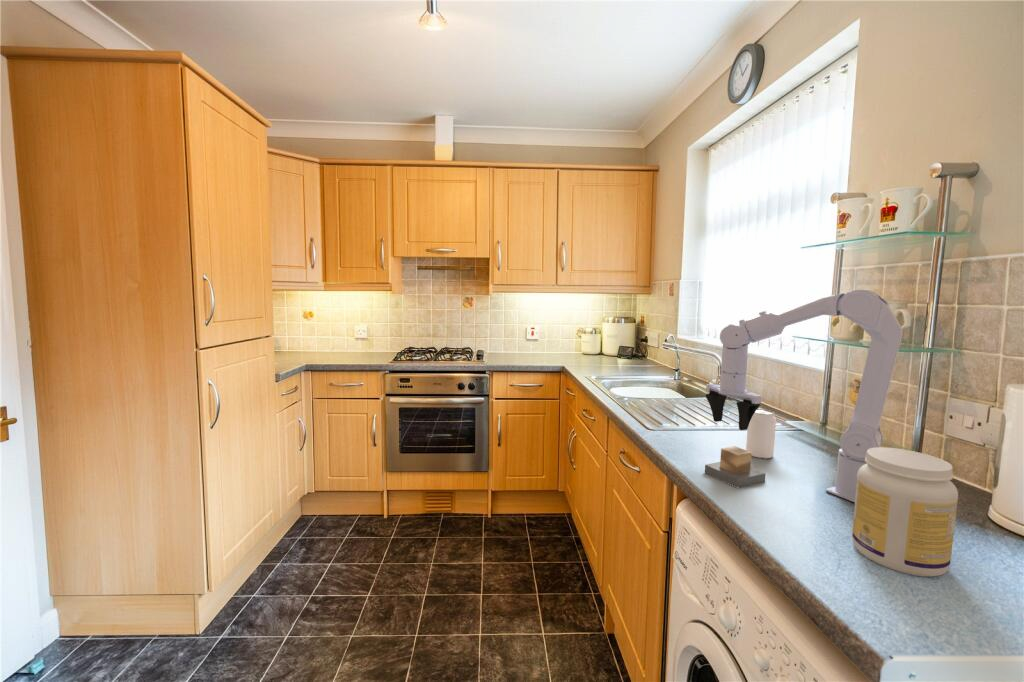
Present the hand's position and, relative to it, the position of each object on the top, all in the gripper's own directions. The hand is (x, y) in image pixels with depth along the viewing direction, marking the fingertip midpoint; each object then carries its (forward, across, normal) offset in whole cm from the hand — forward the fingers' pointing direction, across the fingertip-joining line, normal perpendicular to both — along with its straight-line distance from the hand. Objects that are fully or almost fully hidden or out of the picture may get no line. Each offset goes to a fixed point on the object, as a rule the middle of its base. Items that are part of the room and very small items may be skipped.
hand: (730, 425), depth 111 cm
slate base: (+10, +7, -6) cm, 14 cm away
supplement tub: (+10, +40, -8) cm, 42 cm away
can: (+10, -1, +13) cm, 16 cm away
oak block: (+8, +7, -6) cm, 12 cm away
